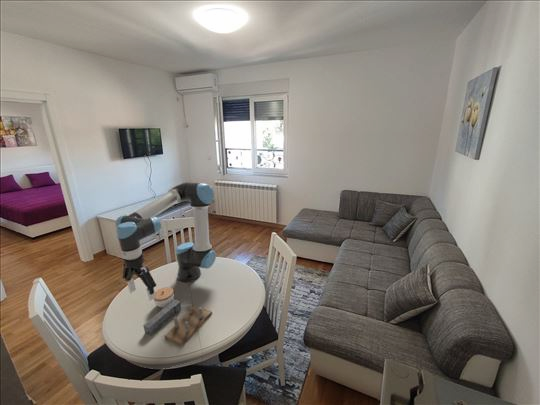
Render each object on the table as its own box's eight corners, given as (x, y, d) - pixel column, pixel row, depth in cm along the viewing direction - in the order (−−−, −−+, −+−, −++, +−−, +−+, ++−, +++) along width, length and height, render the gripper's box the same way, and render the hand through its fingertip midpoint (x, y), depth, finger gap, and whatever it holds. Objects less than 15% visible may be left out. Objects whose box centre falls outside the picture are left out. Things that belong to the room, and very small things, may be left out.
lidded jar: (153, 313, 132) (150, 298, 130) (156, 300, 142) (154, 286, 139) (174, 308, 135) (171, 294, 132) (176, 296, 145) (173, 283, 142)
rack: (196, 307, 135) (194, 296, 133) (212, 313, 131) (210, 302, 128) (165, 338, 116) (162, 325, 114) (182, 346, 112) (179, 333, 110)
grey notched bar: (175, 306, 137) (173, 299, 135) (181, 308, 135) (180, 301, 133) (144, 333, 120) (142, 325, 118) (151, 336, 118) (149, 328, 116)
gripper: (107, 254, 110) (118, 292, 117) (144, 266, 100) (153, 307, 106) (123, 247, 117) (132, 283, 123) (159, 257, 106) (167, 297, 113)
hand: (142, 295), depth 115 cm, fingers open, 13 cm apart
